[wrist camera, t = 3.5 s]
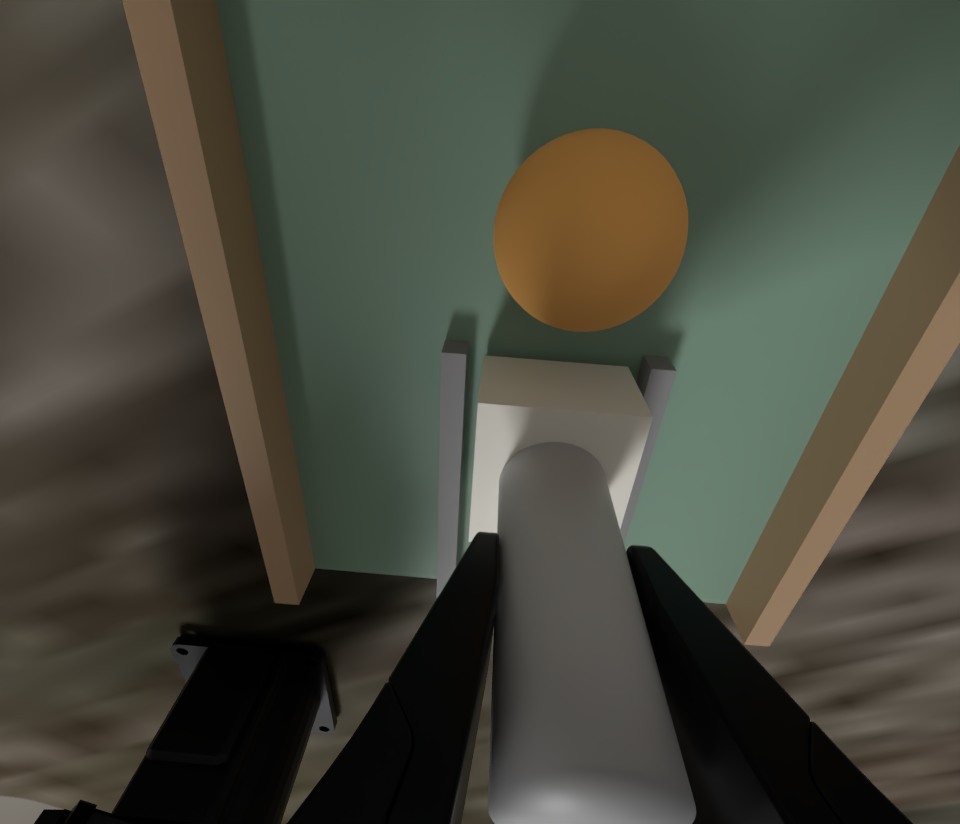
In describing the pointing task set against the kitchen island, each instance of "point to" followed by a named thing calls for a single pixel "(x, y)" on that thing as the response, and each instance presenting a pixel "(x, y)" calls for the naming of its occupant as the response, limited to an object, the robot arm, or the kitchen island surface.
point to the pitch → (493, 311)
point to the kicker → (570, 602)
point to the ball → (590, 230)
